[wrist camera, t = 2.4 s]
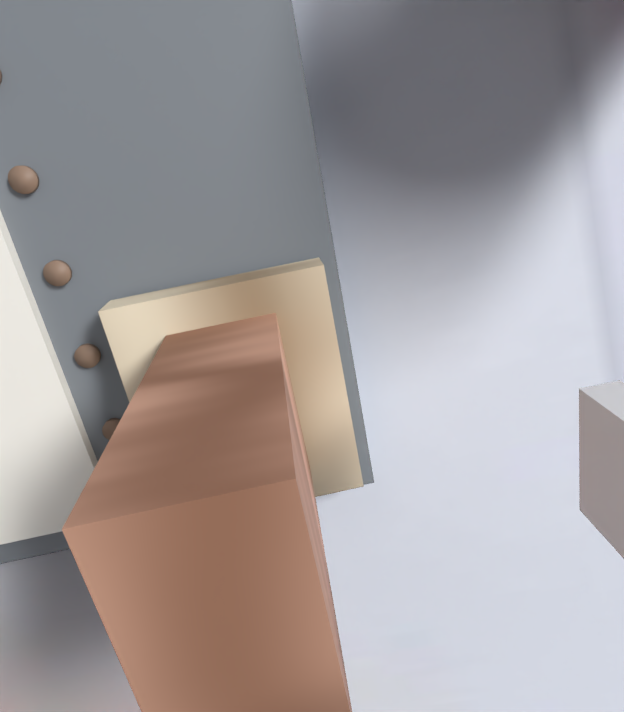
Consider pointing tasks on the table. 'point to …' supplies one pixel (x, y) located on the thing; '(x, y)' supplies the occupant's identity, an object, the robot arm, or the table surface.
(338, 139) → the table surface
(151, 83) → the board
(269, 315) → the stub
